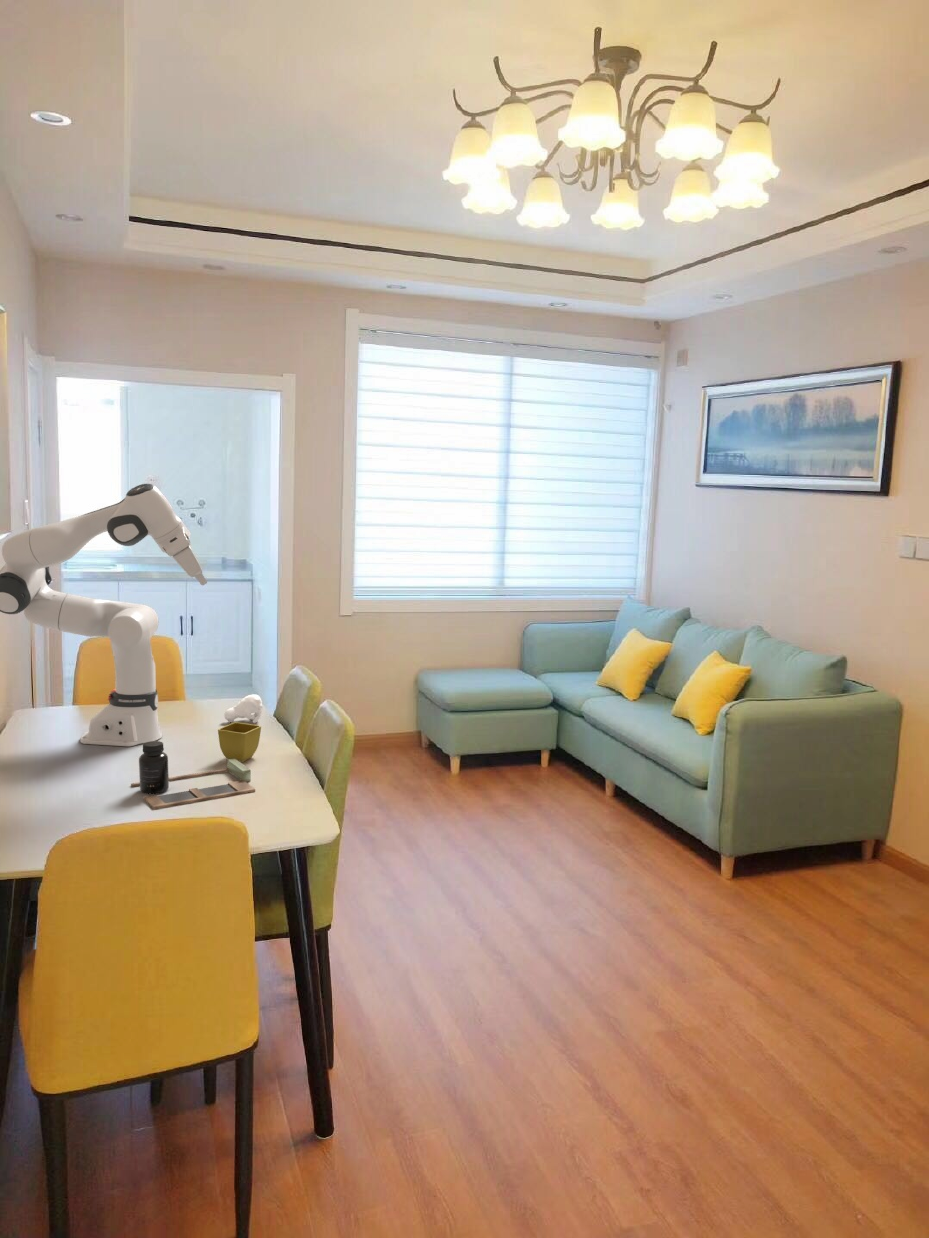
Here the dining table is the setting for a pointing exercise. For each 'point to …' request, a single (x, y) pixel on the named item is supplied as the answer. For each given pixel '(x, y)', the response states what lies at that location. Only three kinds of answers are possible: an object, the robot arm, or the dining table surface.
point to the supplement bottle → (153, 768)
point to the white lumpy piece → (245, 709)
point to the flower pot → (239, 740)
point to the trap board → (205, 793)
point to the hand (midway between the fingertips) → (202, 578)
